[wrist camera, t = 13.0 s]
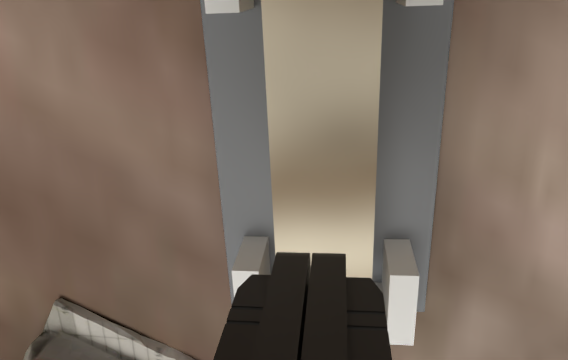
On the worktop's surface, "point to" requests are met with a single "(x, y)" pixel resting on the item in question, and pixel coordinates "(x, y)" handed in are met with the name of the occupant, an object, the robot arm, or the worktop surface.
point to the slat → (323, 125)
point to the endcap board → (390, 149)
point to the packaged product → (93, 339)
